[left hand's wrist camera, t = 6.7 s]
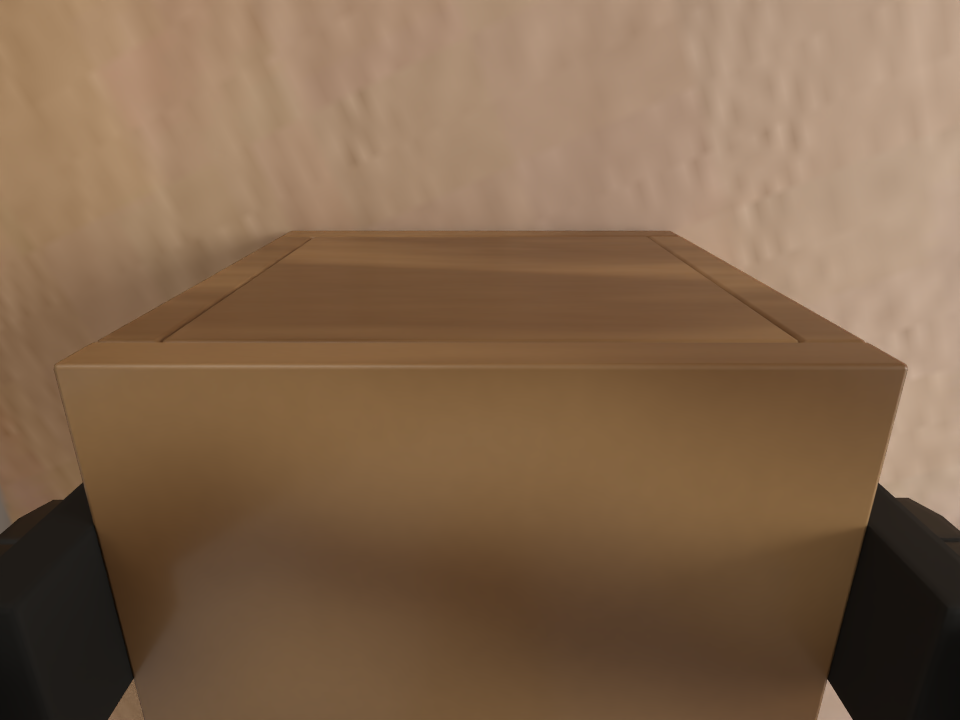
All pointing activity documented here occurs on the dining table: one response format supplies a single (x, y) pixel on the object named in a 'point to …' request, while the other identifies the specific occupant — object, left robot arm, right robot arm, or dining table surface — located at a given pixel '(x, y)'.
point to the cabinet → (480, 482)
